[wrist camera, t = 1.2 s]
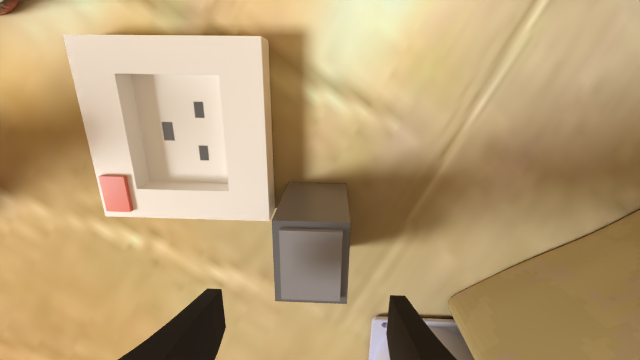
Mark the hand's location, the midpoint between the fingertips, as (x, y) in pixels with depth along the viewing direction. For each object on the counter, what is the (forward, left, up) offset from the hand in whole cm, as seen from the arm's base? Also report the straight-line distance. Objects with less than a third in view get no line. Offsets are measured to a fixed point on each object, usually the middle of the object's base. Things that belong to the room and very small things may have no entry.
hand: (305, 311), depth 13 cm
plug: (0, 0, -9) cm, 9 cm away
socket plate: (+8, -6, -9) cm, 14 cm away
